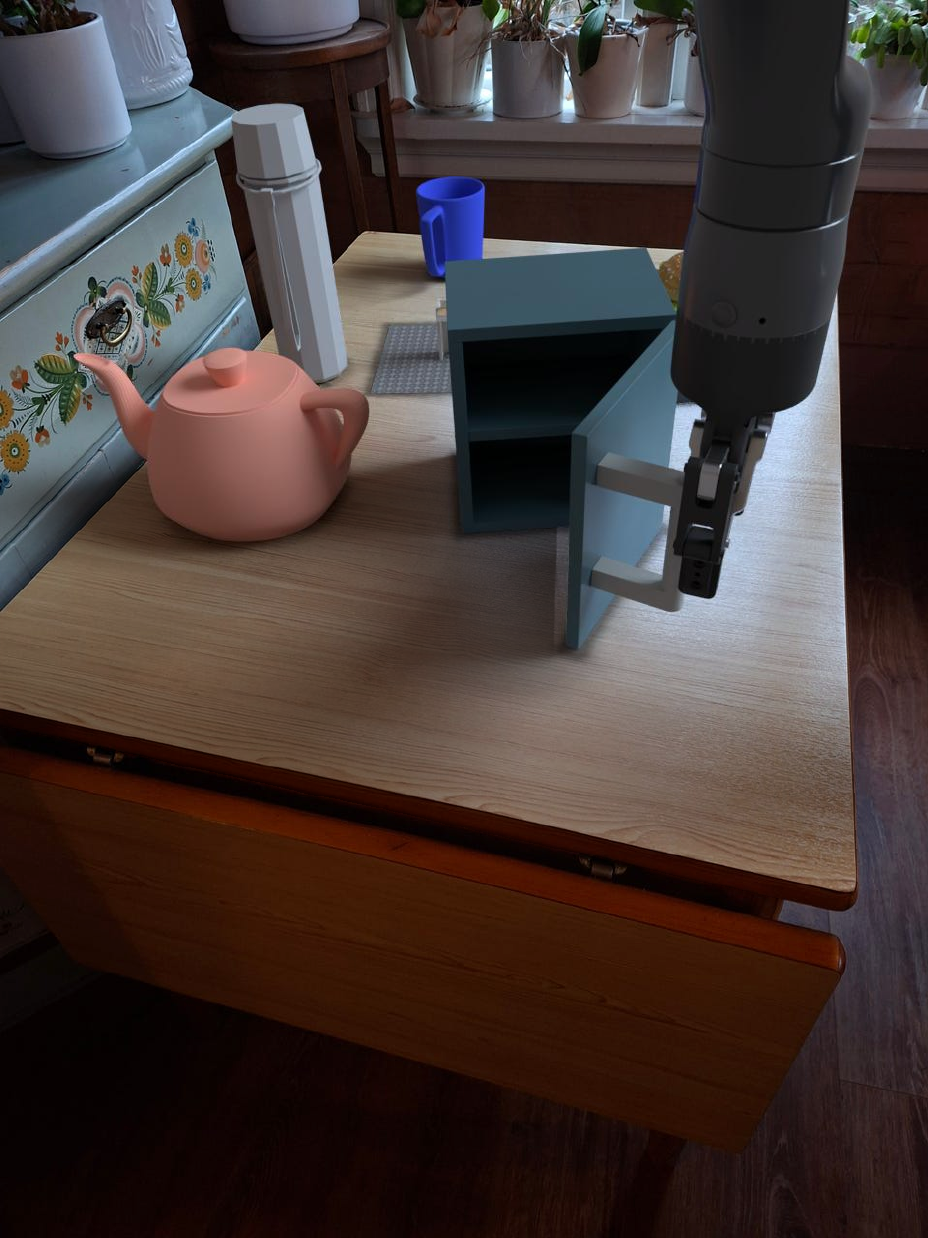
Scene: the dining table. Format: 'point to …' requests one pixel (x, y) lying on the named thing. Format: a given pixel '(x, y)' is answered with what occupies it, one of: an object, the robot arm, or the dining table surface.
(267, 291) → the water bottle
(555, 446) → the cupboard
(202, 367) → the teapot
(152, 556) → the dining table surface
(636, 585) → the cupboard door
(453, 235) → the mug
